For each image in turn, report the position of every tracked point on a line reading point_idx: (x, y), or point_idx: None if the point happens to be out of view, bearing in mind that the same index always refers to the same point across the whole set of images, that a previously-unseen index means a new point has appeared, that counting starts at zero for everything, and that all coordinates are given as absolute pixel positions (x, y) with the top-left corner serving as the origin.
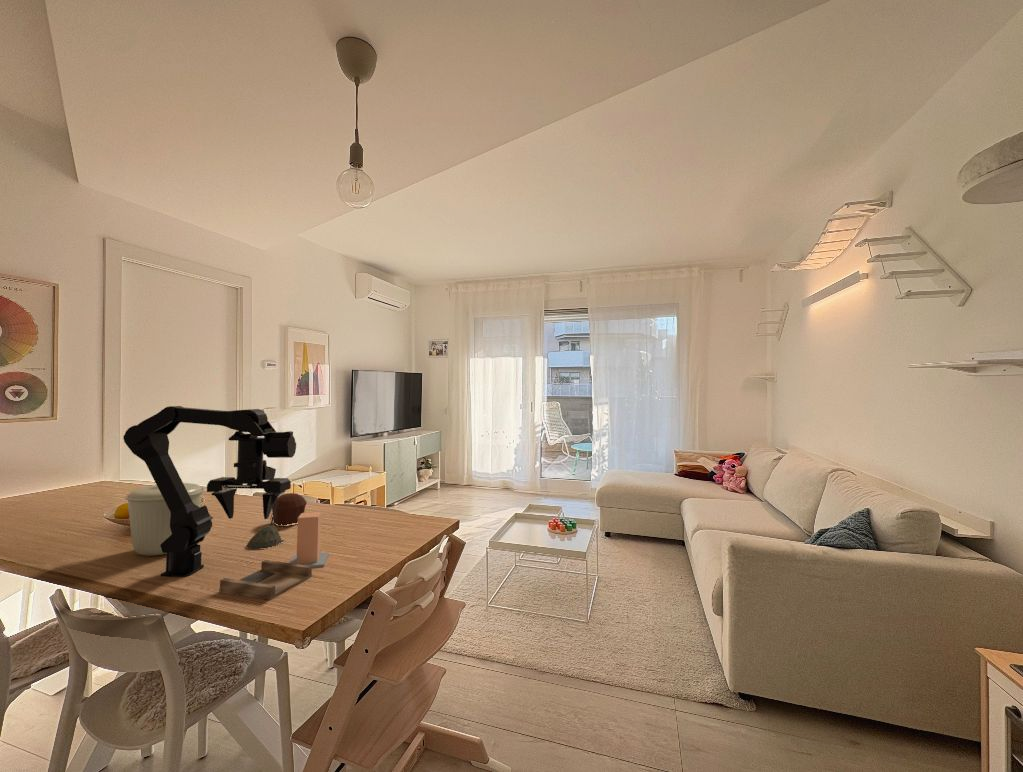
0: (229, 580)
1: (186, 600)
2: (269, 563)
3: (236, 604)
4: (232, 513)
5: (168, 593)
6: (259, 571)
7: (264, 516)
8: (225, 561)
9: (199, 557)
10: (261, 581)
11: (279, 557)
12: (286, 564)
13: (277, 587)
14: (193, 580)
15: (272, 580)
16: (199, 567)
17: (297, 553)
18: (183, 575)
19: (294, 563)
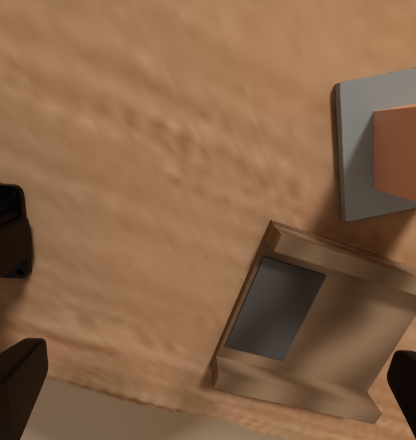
0: (242, 390)
1: (156, 400)
2: (307, 260)
3: (287, 413)
4: (19, 384)
5: (77, 370)
6: (270, 262)
7: (409, 415)
8: (64, 123)
9: (3, 243)
10: (304, 325)
11: (273, 82)
12: (375, 278)
13: (361, 357)
14: (79, 295)
15: (333, 318)
16: (28, 227)
17: (405, 198)
18: (21, 277)
19: (366, 185)
